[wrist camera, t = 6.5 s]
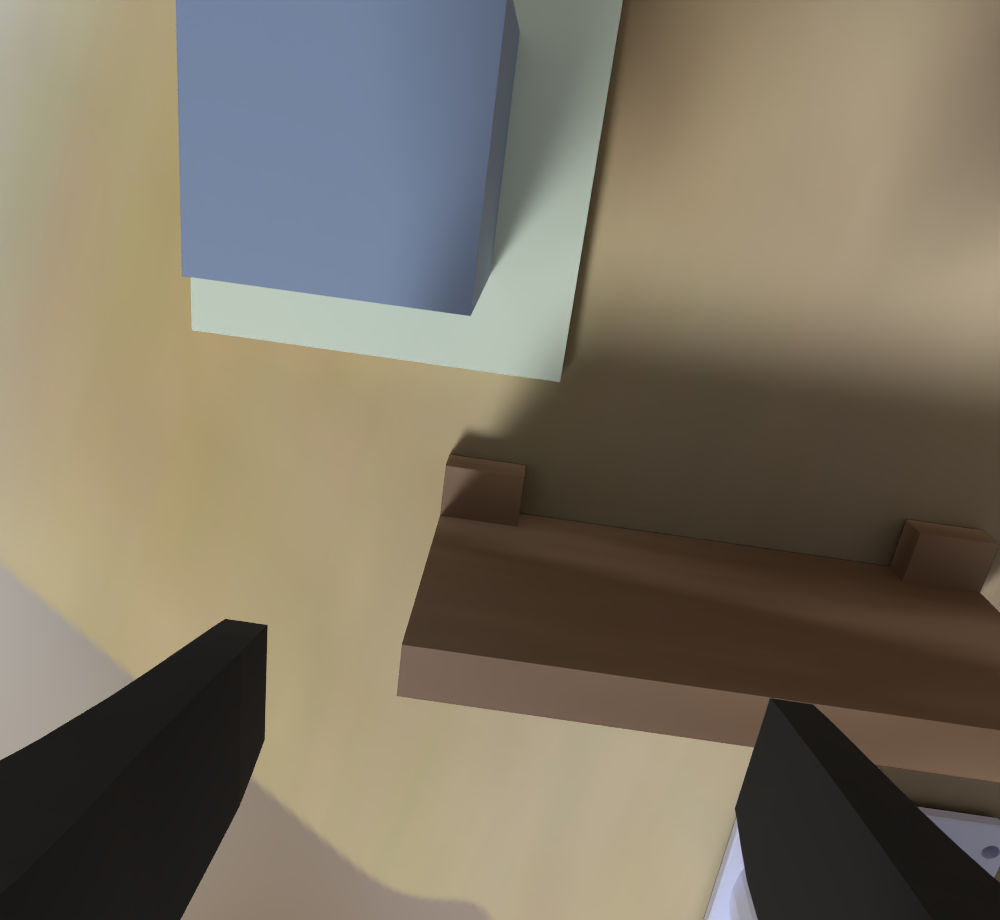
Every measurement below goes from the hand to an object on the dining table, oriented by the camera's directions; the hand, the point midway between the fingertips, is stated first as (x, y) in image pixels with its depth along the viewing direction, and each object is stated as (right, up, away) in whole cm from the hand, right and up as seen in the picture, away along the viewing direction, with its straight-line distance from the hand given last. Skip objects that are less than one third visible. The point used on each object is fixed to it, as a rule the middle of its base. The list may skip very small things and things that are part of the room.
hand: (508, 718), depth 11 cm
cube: (-2, +11, +6) cm, 12 cm away
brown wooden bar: (+5, +1, +10) cm, 11 cm away
